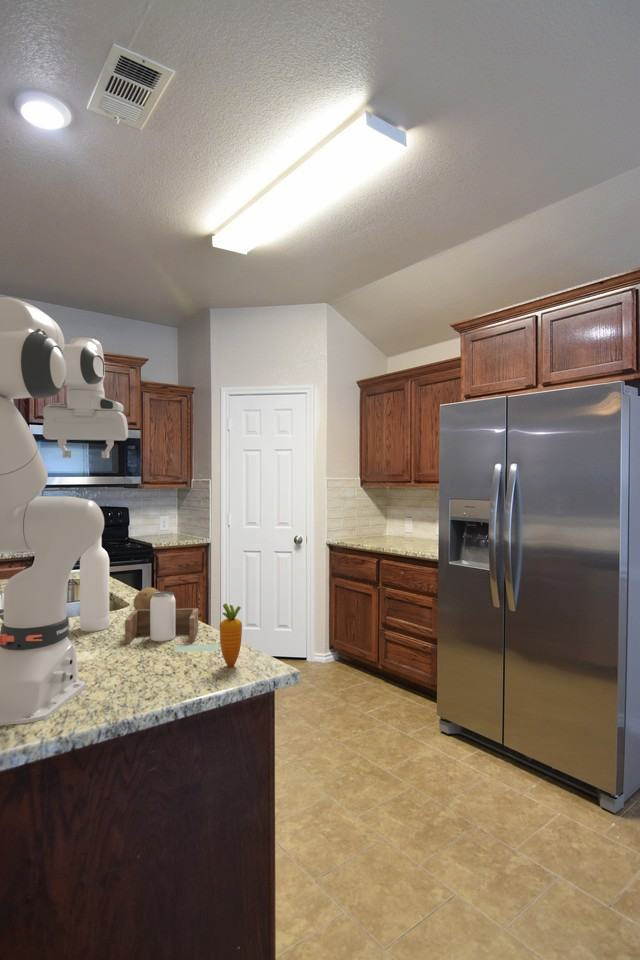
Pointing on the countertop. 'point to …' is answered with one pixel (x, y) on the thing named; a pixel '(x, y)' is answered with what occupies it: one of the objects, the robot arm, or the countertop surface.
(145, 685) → the countertop surface
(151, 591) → the natural sponge
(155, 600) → the can
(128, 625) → the brown wooden u-shaped frame
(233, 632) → the carrot
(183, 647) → the mat
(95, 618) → the bottle
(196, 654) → the countertop surface
